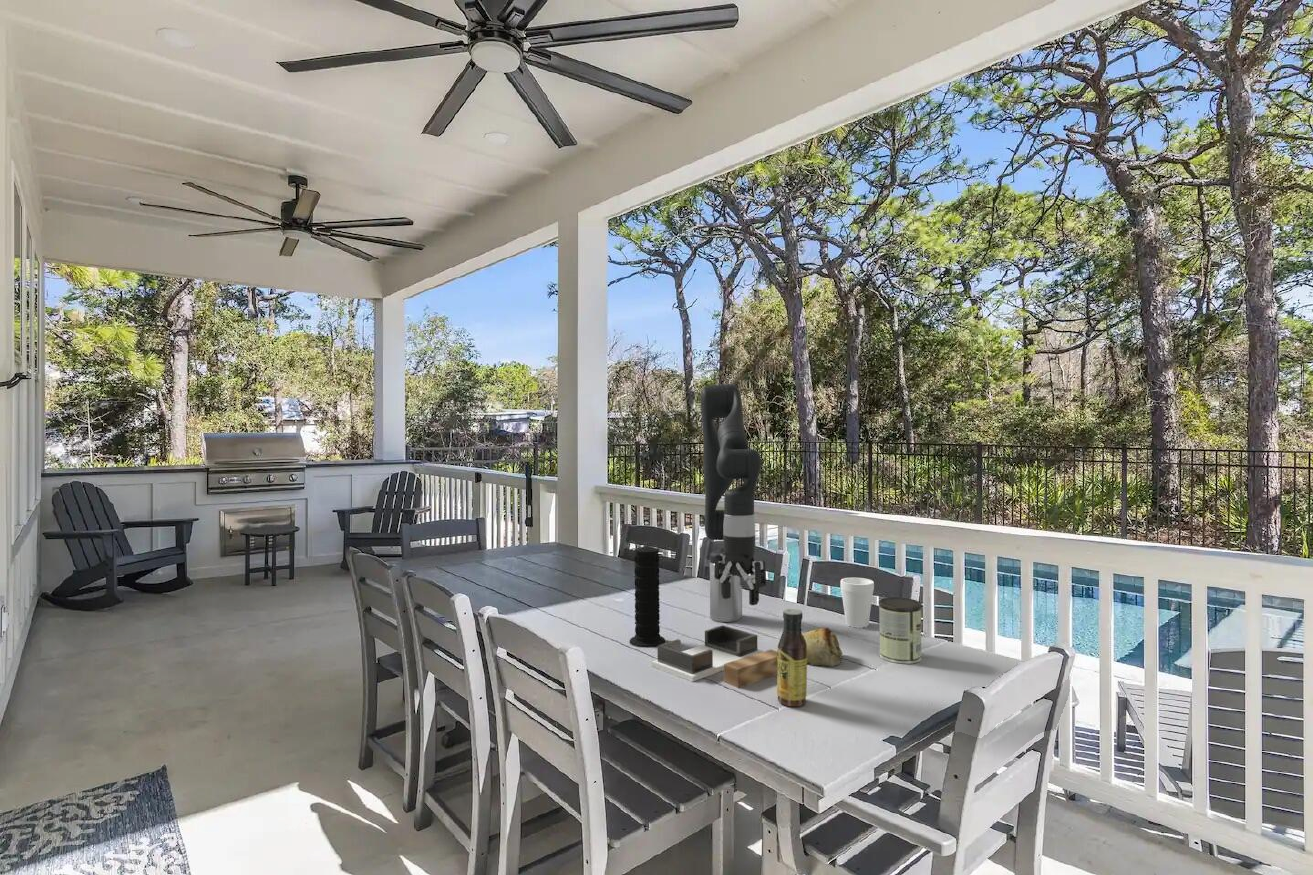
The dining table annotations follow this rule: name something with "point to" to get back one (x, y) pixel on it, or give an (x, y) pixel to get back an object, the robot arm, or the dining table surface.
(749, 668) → the oak rail
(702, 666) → the brackets
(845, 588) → the foam cup
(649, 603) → the handle grip
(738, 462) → the robot arm
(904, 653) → the coffee can
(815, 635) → the pastry
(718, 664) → the mounting board
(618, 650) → the dining table surface
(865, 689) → the dining table surface
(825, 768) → the dining table surface
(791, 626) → the sauce bottle
